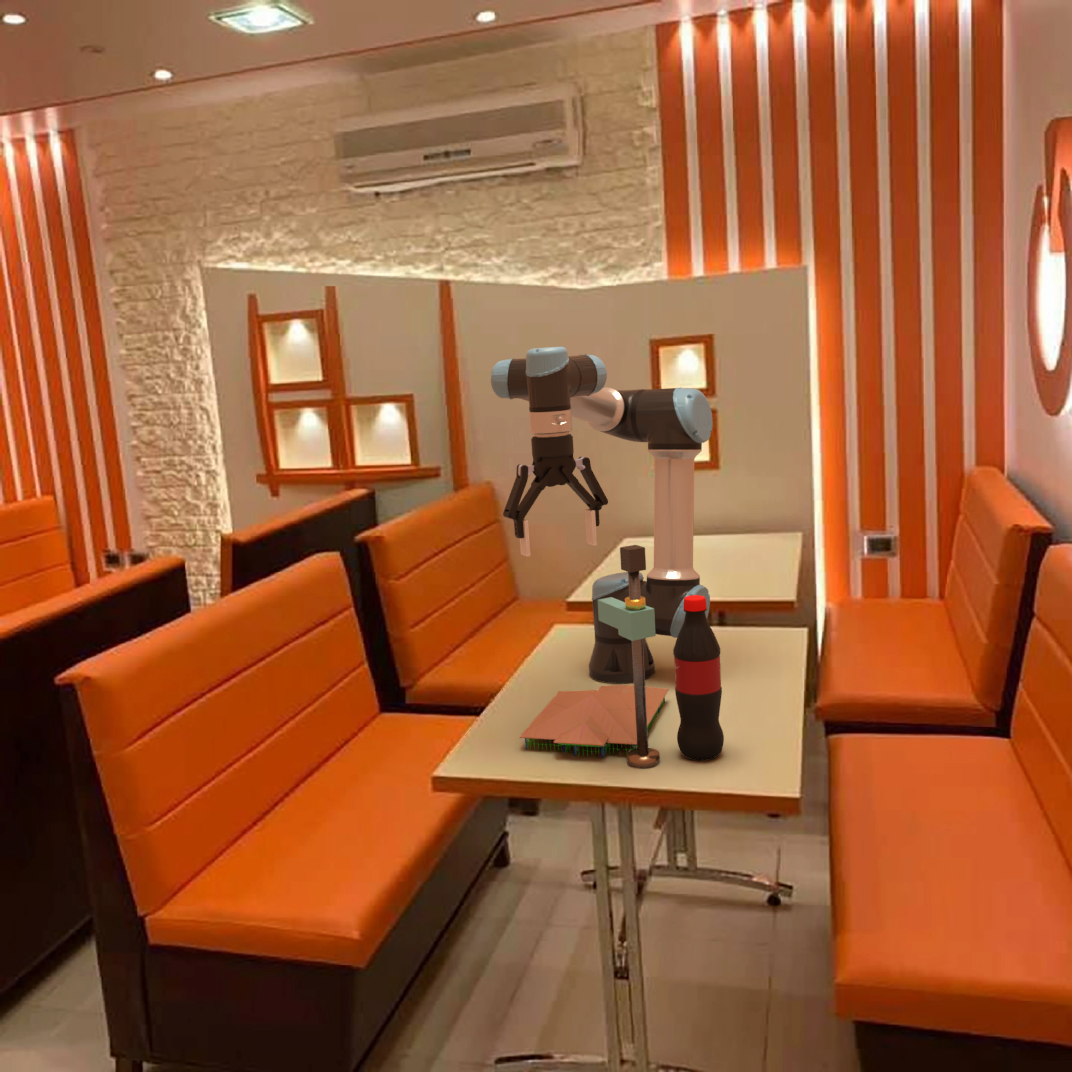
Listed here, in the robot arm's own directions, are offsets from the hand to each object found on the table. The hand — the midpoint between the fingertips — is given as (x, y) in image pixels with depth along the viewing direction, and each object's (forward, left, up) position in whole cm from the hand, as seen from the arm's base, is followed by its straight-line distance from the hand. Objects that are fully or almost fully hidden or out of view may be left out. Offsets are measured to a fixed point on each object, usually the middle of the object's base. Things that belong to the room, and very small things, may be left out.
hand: (559, 549), depth 192 cm
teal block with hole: (+8, +8, -15) cm, 19 cm away
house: (-7, +9, -39) cm, 41 cm away
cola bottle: (+16, +18, -39) cm, 46 cm away
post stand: (+13, +8, -39) cm, 42 cm away
